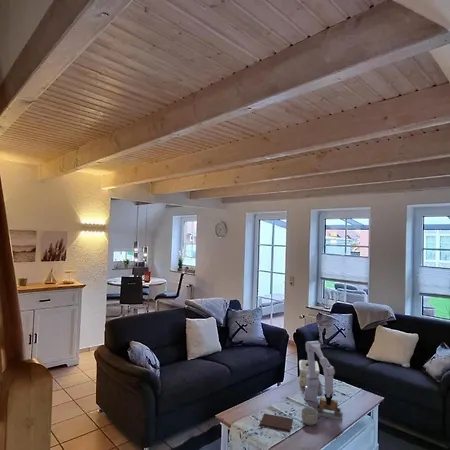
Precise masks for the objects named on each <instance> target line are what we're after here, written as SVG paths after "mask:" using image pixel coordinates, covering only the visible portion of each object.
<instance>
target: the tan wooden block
mask: <svg viewBox="0 0 450 450" xmlns="http://www.w3.org/2000/svg"><path fill="white" fill-rule="evenodd" d="M338 403H339V401H338V400H337V399H333V398H332V399H331V403H330V405H327V403H326V398H325V397H319V404H320V409H325V410H330V411H336V412H337V410H338V408H339V407H338V405H339V404H338Z"/></svg>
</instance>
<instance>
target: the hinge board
mask: <svg viewBox="0 0 450 450" xmlns="http://www.w3.org/2000/svg"><path fill="white" fill-rule="evenodd" d="M315 409H316V410H317V411H318V416H319V417H326V418H330V419H331V418H332V419H335V420H342V419H343V417H342V416H343V411H342V408H341V407H338V410H337V412H336V411H330V410H325V409H320V403H317V404H316V406H315Z"/></svg>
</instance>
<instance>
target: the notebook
mask: <svg viewBox="0 0 450 450" xmlns="http://www.w3.org/2000/svg"><path fill="white" fill-rule="evenodd" d="M293 419H294V418H290V417H285V416H280V415H275V414H269V413H263V415H262V418H261V420H260V422H259V427H262V426H264V427H263V428H267V427H269V428H268V429H272V428H274V430H277V429H278V431H282V430H283V431H284V432H287V433H288V432H289V433H290V432H291V428H292V423H293V421H294V420H293Z"/></svg>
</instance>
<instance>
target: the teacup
mask: <svg viewBox="0 0 450 450" xmlns="http://www.w3.org/2000/svg"><path fill="white" fill-rule="evenodd" d="M300 412H301V419H302V421H303V423H304V424H305V425H307V426H314V425H316V424H317V423H318V420H319V419H318V418H319V415H318V411H317V410H316V408H313V406H309V407H304V408H302V409H301V411H300Z"/></svg>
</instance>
